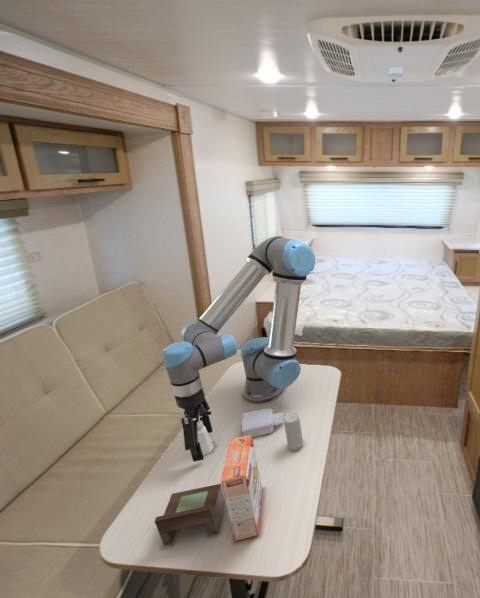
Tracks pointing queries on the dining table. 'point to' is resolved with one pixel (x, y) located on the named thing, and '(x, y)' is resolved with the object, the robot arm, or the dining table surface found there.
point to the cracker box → (242, 487)
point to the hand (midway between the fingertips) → (203, 445)
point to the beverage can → (293, 431)
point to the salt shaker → (204, 438)
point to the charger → (260, 422)
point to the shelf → (191, 511)
